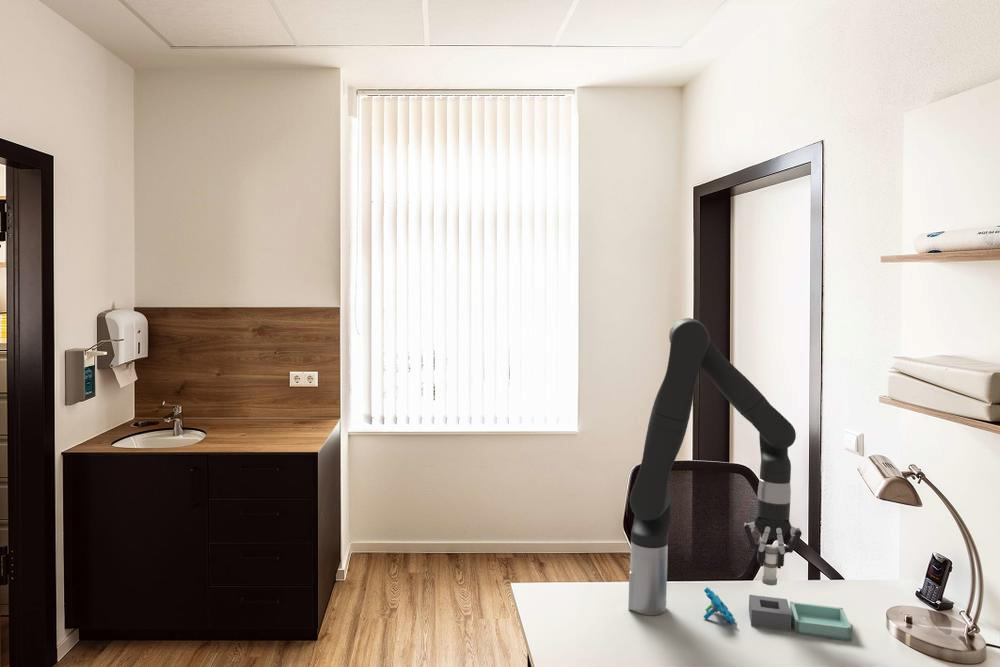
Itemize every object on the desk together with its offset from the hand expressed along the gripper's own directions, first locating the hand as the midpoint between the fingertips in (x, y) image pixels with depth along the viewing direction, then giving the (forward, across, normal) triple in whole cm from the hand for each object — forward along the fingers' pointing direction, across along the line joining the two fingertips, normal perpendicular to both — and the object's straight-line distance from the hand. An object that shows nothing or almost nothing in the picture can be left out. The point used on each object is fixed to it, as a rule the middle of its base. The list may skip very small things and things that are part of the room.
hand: (770, 565), depth 176 cm
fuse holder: (+14, 0, 0) cm, 14 cm away
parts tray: (+14, +12, 0) cm, 18 cm away
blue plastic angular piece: (+14, -12, -3) cm, 19 cm away
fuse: (+4, 0, 0) cm, 4 cm away
